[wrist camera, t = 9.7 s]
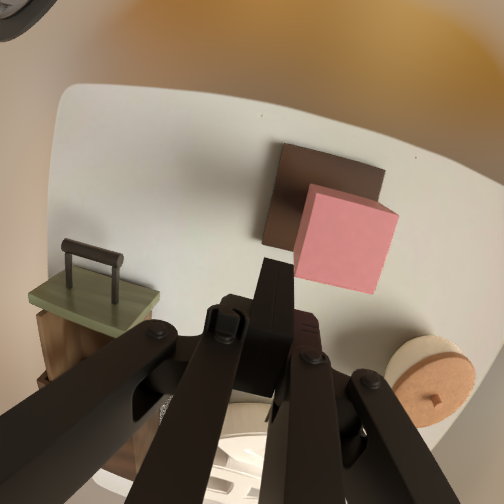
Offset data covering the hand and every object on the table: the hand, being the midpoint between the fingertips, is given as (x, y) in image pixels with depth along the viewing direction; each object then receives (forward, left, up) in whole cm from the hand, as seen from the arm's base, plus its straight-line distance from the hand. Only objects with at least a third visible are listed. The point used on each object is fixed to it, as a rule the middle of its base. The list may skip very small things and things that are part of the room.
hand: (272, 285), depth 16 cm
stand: (+2, +4, -17) cm, 17 cm away
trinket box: (+24, +2, -17) cm, 29 cm away
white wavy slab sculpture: (+26, -27, -17) cm, 41 cm away
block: (+2, +4, -8) cm, 9 cm away
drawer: (-5, -23, -16) cm, 28 cm away
